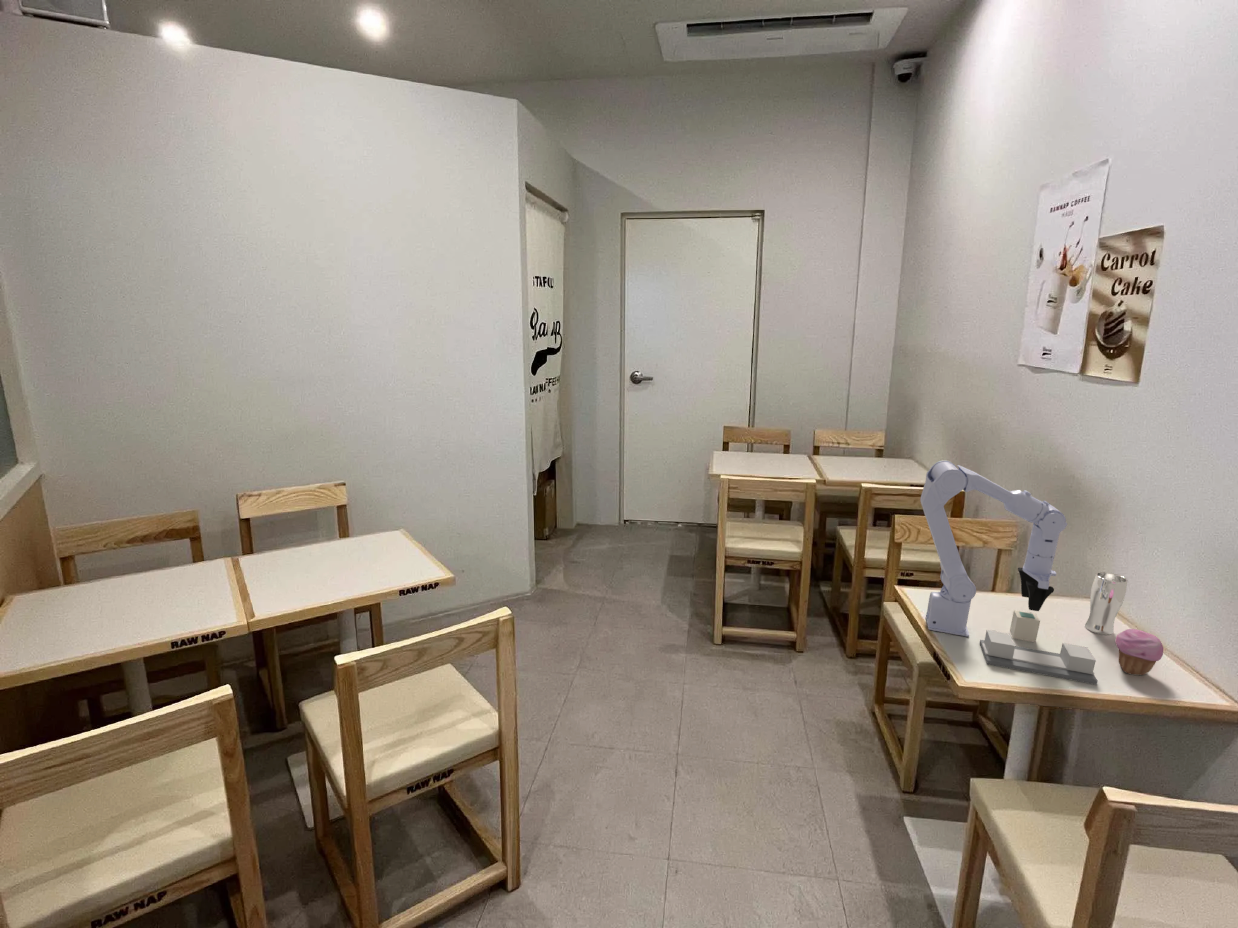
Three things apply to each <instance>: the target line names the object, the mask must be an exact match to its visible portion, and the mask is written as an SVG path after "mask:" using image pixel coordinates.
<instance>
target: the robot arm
mask: <svg viewBox="0 0 1238 928" xmlns="http://www.w3.org/2000/svg"><path fill="white" fill-rule="evenodd" d="M957 467H958V468H957ZM962 491H964V492H965V493H968V492H971V491H977V492H980V493H982V494H984V495H986V496H988V497H990V498H992V499H994V500H997V501H999V502H1000V503H1003V507H1004V509H1005V510H1006V511H1007V512H1008V513H1011V514H1013V515H1015V516H1016V517H1019V518H1021V519H1022V520H1024V521H1027V522H1029V523H1032V528H1031V533H1030V537H1029V540H1028V545H1027V551H1026V555H1025V561H1024V564H1023V566H1022V567H1018V568H1017V570H1018V573H1019V578H1020V592H1021V593H1020V594H1021V597H1022V598H1028V600H1027V601H1028V602H1027V605H1028V610H1029V611H1034V612H1040V611H1041V609H1042V607H1043V605H1044V603H1045V601H1046V600H1047V598H1048V597H1050V595H1051V594H1053V593H1054V591H1055V588H1054V587H1053V586H1051V585H1050V579H1051V577H1056V576H1057V572H1056V571H1055V570H1053V564H1054V560H1055V557H1056V552H1057V549H1058V548H1057V546H1058V544H1059V543H1058V542H1059V538H1060V534H1061V533H1062V532H1063V531H1064V530H1065V529H1066V528H1067V527H1068V523H1067V519H1066V516H1065V514H1064V513H1063V512H1061V510H1059V509H1057V508H1056V507H1055V506H1054V505H1051V503H1049V502H1048V501H1047V500H1043V501H1042V500H1040V499H1038V498H1036V497H1034V496H1033V495H1032V493H1031V492H1030V491H1028V490H1026V489H1024V490H1023V491H1022V490H1021V489H1015V490H1014V489H1013V490H1008V488H1007V489H1006V488H1004V487H1003V486H1001V485H999V484H998V483H996V482H994V481H992V480H990V479H988V478H987V477H985V476H983V475H980V474H979V473H978V472H976V471H973V470H972V469H969V468H966V467H965V466H962V465H959V464H957V465H955V463H953V462H951V461H950V460H946V459H945V460H939V461H936V462H935V463H933V464H932V465H931V467H930V468H929V469H928V471H927V472H926V474H925V482H924V485H923V489H922V492H921V495H920V499H919V500H920V505H921V507H922V511H923V513H924V517H925V519H926V522H927V525H928V529H929V531H930V534H931V538H932V540H933V541H932V542H933V544H934V547H935V550H936V552H937V557H938V559H939V562H940V564H939V566H940V568H941V571H940V576H939V577H940V580H941V583H942V584H943V585H942V587H941V589H940V591H931V592H930V593H929V597H928V603H927V610H926V614H925V619H926V623H927V628H928V630H929V631H935V632H940V633H945V634H951V635H957V636H961V637H962V636H963V637H970V633H969V628H968V626H967V624H968V621H969V614H970V609H971V608H970V607H971V602H972V600H973V599H974V598H975V596H976V595H977V588H976V585H975V584H974V582H973V581H972V580H971V578H970V577H969V575H968V573H967V571H966V569H965V566H964V564H963V562H962V559H961V555H960V553H959V550H958V547H957V544H956V541H955V537H954V534H953V531H952V528H951V525H950V522H949V519H948V518H949V517H948V516H947V512H946V510H945V507H944V506H945V505H947V502H948V501H949V500H950V499H952V498H953V497H955V496H956V495H958V494H960V492H962ZM1049 585H1050V586H1049Z"/></svg>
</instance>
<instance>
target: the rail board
mask: <svg viewBox="0 0 1238 928" xmlns="http://www.w3.org/2000/svg"><path fill="white" fill-rule="evenodd" d="M979 646H980V648H981V652H982V654H983V658H984V661H985V663H986V665H990V666H995V667H1001V668H1005V669H1010V670H1016V671H1017V670H1018V671H1020V672H1021V671H1022V672H1026V673H1032V674H1038V675H1044V676H1049V677H1054V678H1060V679H1064V680H1069V681H1074V682H1075V681H1076V682H1081V683H1084V684H1085V683H1086V684H1091V685H1096V686H1097V685H1098V682H1099V681H1098V679H1097V677H1096V676H1095V672H1094V669H1095V665H1096V662H1097V660H1096V658H1095V657H1094V655H1093V653H1092V652H1091V651H1090V649H1089V647H1087V646H1082V645H1078V644H1072V643H1066V642H1062V644H1061V648H1060V652H1059V653H1058V652H1054V651H1053V652H1051V651H1046V650H1041V649H1035V648H1030V647H1029V648H1028V647H1024V646H1023V647H1022V646H1019V645H1015V642H1014V640H1013V637H1012V635H1011V633H1008V632H1002V631H996V630H992V629H986V632H985V635H984V639H979Z"/></svg>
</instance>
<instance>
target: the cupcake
mask: <svg viewBox="0 0 1238 928" xmlns="http://www.w3.org/2000/svg"><path fill="white" fill-rule="evenodd" d="M1114 642H1115V645H1116V647H1117V649H1118V664H1119V666H1120V667H1121V668H1122V671H1123V672H1124V673H1126V674H1129V675H1137V676H1145V675H1147V674H1148V673H1149V672H1151V670H1152V669H1153V667H1154V666H1155V664H1156V663H1157V662H1159V661H1160V660H1161V659H1162V658H1163V655H1164V645H1163V643H1162V641H1161V640H1160V638H1159V637H1158V636H1156V635H1154V634H1153V633H1149V632H1146V631H1144V630H1140V629H1136V628H1128V629H1125V630H1123V631H1122V632H1119V633H1118V634H1116V637H1115V640H1114Z"/></svg>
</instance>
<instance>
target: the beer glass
mask: <svg viewBox="0 0 1238 928" xmlns="http://www.w3.org/2000/svg"><path fill="white" fill-rule="evenodd" d="M1128 582H1129V581H1128V579H1127V578H1125V577H1124V576H1123V575H1120V574H1116V573H1114V572H1108V571H1098V572H1096V573H1095V577H1094V580H1093V582H1092V586H1091V589H1090V598H1089V599H1090V601H1089V602H1090V603H1089V605H1090V607H1089V608H1090V610H1089V615H1088V618H1087V620H1086V622H1085V624H1084V625H1085V626H1084V627H1085V628H1086V629H1087V631H1090V632H1092V633H1094V634H1098V635H1101V636H1112V635H1114V632H1115V631H1114V624H1115V620H1116V617H1117V615H1118V613H1119V611H1121V610H1120V609H1121V607H1122V606H1123V603H1124V601H1125V598H1126V593H1127V586H1128Z"/></svg>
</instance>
